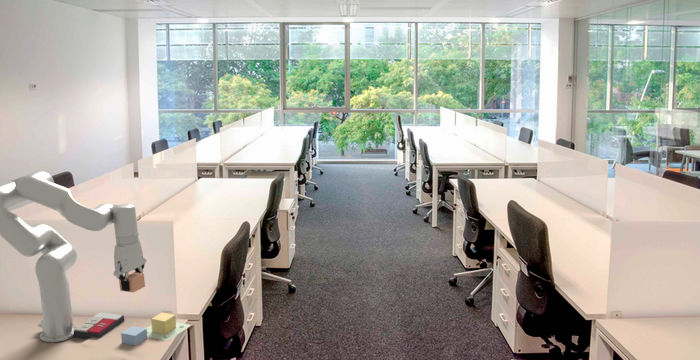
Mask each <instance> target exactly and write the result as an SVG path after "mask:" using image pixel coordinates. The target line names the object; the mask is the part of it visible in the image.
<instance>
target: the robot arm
mask: <svg viewBox="0 0 700 360" xmlns="http://www.w3.org/2000/svg"><path fill="white" fill-rule="evenodd" d="M28 200H29V201H31V202H34V203H36V204H39V205H41V206H43V207H46V208H49V209H51V210H53V211H55V212H57V213H59V214H60V215H61V217H63V218H64V219H65V220H66V221H68V222H69V223H71V224H73V225H74V226H77V227H78V228H79V227H80V228H81V229H84V230H89V231H91V232H99V231H103V230H104V229H106V228H107V227H108V226H110V225H112V224H113V226H114V234H115V245H114V251H113V253H114V254H113V262H114V263H113V264H114V271H113V276H114V277H115V278H116V279H118V281H119V280H121V287H122V290H123V291H122V292H126V291H130V286H129V280H127V279H128V273H129V272H136V273H144V269H145V266H146V265H145V264H146V263H147V259H146V258H145V257H144V254H143V248H142V244H141V241H140V240H139V239H140V238H139V235H140V233H139V231H138V229H139V228H138V221H137V211H136V207H135V206H134V204H131V203H122V204H121V203H120V204H115V203H114V204H113V203H101V204H99V205H98V206H96V207H94V208H91V207H88V206H86V205H83V204H81V203H79V202H78V201H76V200H75V199H74V198H73V196H72V191H71V189H70V188H67V187H66V186H62V185H60V184H57V183H55V180H54V178H53V176H52V175H51V174H49V173H48V172H46V171H43V170H39V171H34V172H31V173H29V174H26V175H24V176H21V177H17V178H15V179H11V180H8V181H6V182H2V183H1V184H0V236H1V237H2V239H3V240H5V241H6V242H7V243H8V244H9V245H10V246H12V248H14V249H15V250H16V251H17V252H18V253H19V254H20V255H22V256H24V257H28V258H30V257H34V256H36V255H38V254H39V253H42V255H41V256H40V257H39V258H38V259H37V261H36V263H35V267H34V270H35V275H36V278H37V282H38V286H39V295H40V303H41V311H42V312H41V313H42V319H41V321H40V323H38V324H37V327H38V328H42V331H41V332H40V334H39V338H40V340H41V341H43V342H45V343H57V342H63V341H66V340H70V339H72V338H73V337H74V332H73V331H74V330H75V329H76V328H77V327H78V326H76V325H74V320H73V310H72V308H73V307H72V299H71V290H70V283H69V280H68V277H67V275H66V273H67V271H68V270H70V269H71V268H72V267H73V266H74V265H75V264H76V262H77V259H78V253H77V252H76V250H75V248H74V246H73V245H71V243H69V242H68V240H66V239H65V238H64V237H63V236H61V234H59V232H57V230H55V229H54V228H53V227H51V226H50V225H47V224H44V223H36V224H33V225H31V226H30V225H29V224H28V223H27V222H26V221H24V220H23V219H22V217H20V216H18V215H17V214H15V213H13V212H11V211H9V208H10V207H13V206H15V205H17V204H20V203H22V202H25V201H28ZM123 275H125V276H123Z"/></svg>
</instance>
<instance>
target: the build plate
mask: <svg viewBox="0 0 700 360" xmlns="http://www.w3.org/2000/svg"><path fill="white" fill-rule="evenodd" d="M189 327H192V324H188V323H183V322H178V321H176V328H175V329H173V330H172V331H170V332H168V333H167V334H161V333H157V332H152V324H150V325H148V326H147V327H146V328H145V327H144V328H145V329H147V338H151V339H155V340H160V341H166V342H168V341H170V340H171V339H173V338H174V337H176V336H178V335H179V334H181V333H182V332H184V331H185V330H186V329H188V328H189Z"/></svg>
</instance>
